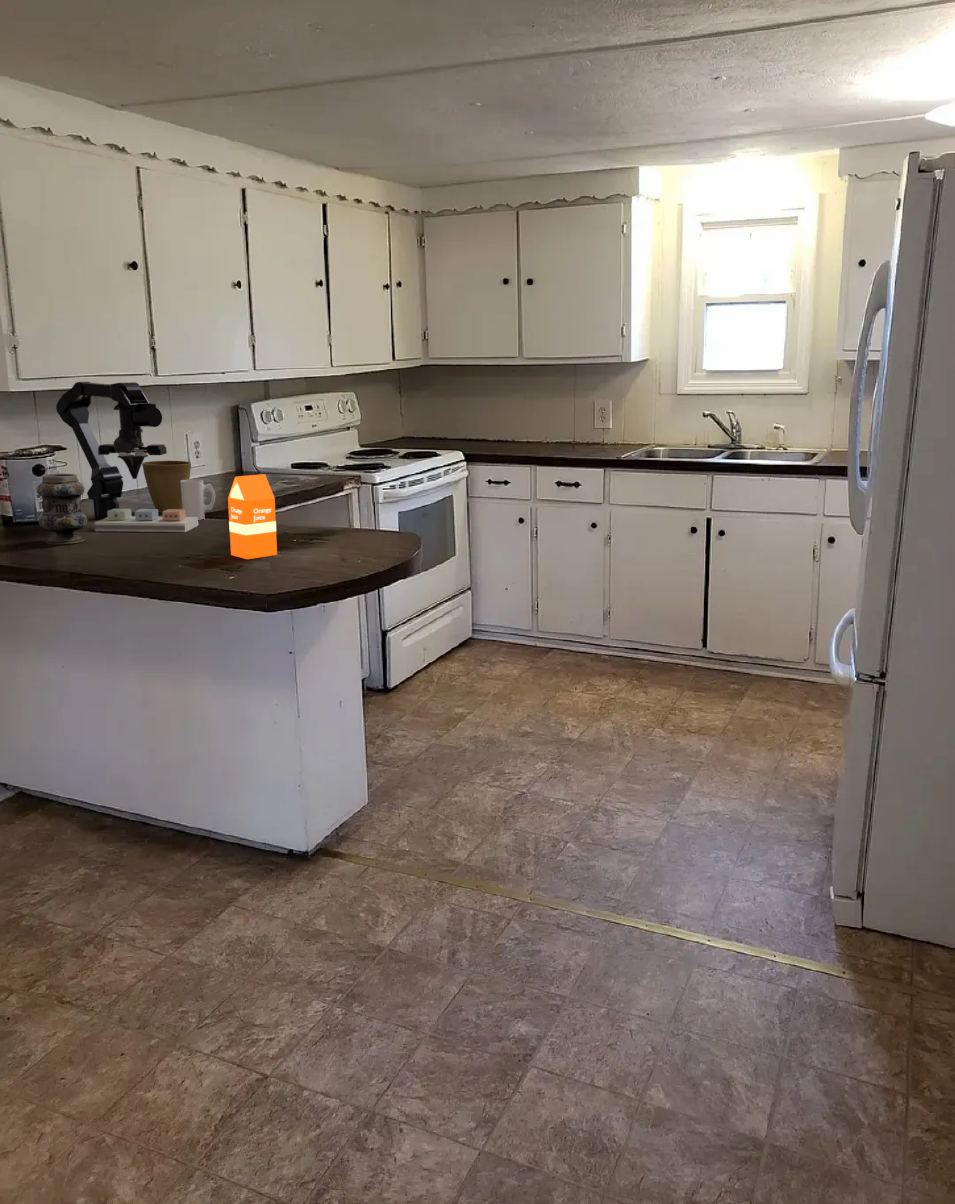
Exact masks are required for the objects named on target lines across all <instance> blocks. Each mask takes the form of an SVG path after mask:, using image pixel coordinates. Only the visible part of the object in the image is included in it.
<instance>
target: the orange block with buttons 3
mask: <svg viewBox="0 0 955 1204" xmlns="http://www.w3.org/2000/svg"><path fill="white" fill-rule="evenodd" d="M161 514H162V516H161V517H163V520H179V521H180V520H182V519H184V518H186V516H185V509H183V508H182V509H167V510H165V511H163V512H162V513H161Z"/></svg>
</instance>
